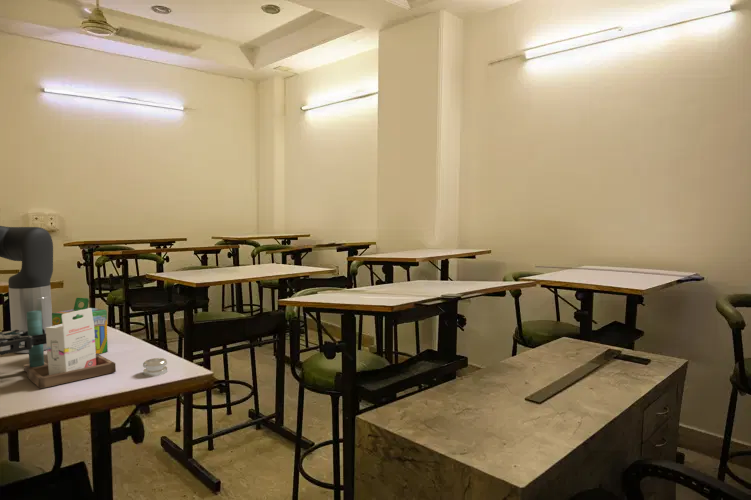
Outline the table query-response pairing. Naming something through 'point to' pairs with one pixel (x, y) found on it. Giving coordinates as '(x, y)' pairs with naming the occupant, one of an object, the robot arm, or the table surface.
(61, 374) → the wooden display tray
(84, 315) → the ink cartridge box
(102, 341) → the chalk box
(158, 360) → the metal grooved wheel
